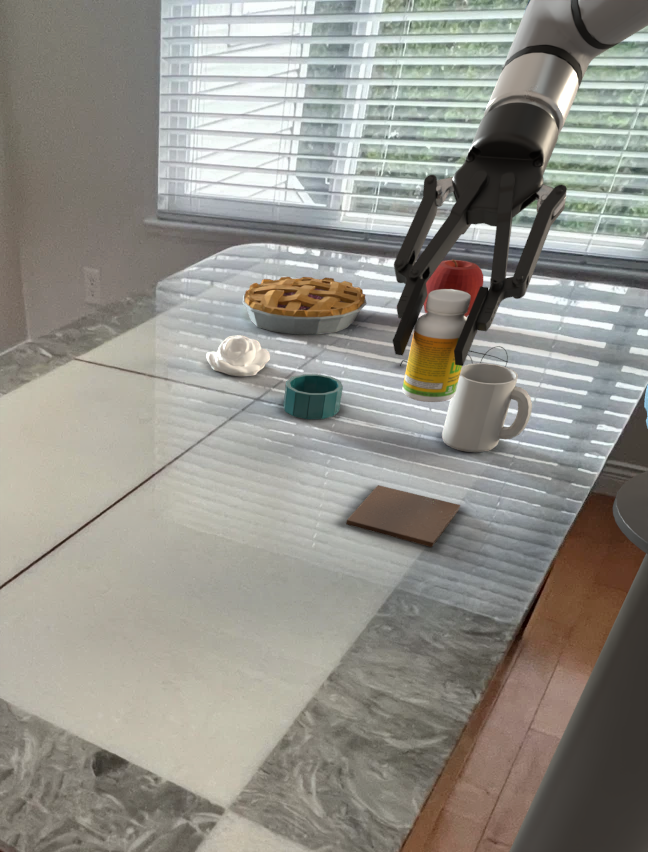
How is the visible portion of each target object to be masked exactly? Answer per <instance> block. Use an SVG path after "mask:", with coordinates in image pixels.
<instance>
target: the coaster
mask: <svg viewBox="0 0 648 852" xmlns="http://www.w3.org/2000/svg"><path fill="white" fill-rule="evenodd" d="M460 508H461V504H459V503H454V502H449V501H445V500H441V499H437V498H433V497H428V496H425V495H421V494H417V493H412V492H408V491H404V490H400V489H396V488H392V487H387V486H384V485H379V484H378V485H376V487H375V488H374V489H373V490H372V491H371V492H370V494H369V495H367V497H366V498H365V499H364V500H363V501H362V502H361V503H360V505H359V506H358V507H356V509H355V510H354V511H353V512H352V514H351V515H350V516H349V517H348V518H347V519H346V521H345V524H346V525H347V526H351V527H354V528H358V529H362V530H366V531H369V532H373V533H376V534H381V535H384V536H388V537H392V538H396V539H400V540H403V541H406V542H410V543H415V544H419V545H422V546H426V547H429V548H433V547H434V546H435V544H436V542H437V541H438V539H440V537H441V535H442V534H443V533H444V532H445V530H446V529H447V527H448V526H449V524H450V523H451V521H452V520H453V519H454V518H455V516H456V515H457V513H458V512H459V511H460Z"/></svg>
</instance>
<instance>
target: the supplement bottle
mask: <svg viewBox="0 0 648 852" xmlns="http://www.w3.org/2000/svg"><path fill="white" fill-rule="evenodd" d="M470 299H471V295H470V294H468V293H466V292H464V291H460V290H453V289H440V290H434V291H431V292H430V293H429V295H428V299H427V303H426V310H427V311H428V312H427V313H424V314H422V315H421V316H419V317H418V319H417V321H416V324H415V327H414V329H413V332H412V339H411V343H410V348H409V352H408V357H407V363H406V368H405V373H404V378H403V383H402V393H403V394H404V395H405V396H406V397H408V398H409V399H411V400H414V401H419V402H423V403H441V402H446V401H450V399H451V398H452V397H453V396H454V395H455V392H456V388H457V385H458V380H459V376H460V372H461V368H462V366H460V365H455V357H454V349H455V347H456V345H457V342H458V340H459V337H460V335H461V332H462V330H463V328H464V325H465V323H466V320H467V318H468V316H467V317H465V316H464V315H465V313H467V312H468V308H469V304H470Z"/></svg>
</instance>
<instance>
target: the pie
mask: <svg viewBox="0 0 648 852" xmlns="http://www.w3.org/2000/svg"><path fill="white" fill-rule="evenodd" d="M366 300H367V299H366V294H365V293H364V292H363V288H361V287H359V286H353V283H352V282H351V281H347V280H344V281H341V282H340V281H335V279H334V278H333V277H323V278H322V279H321V278H320V279H319V278H314V277H311V276H302V277H300V278H297V277H296V278H292V277H291V276H280V278H279V279H275V280H274V279H271V278H264V279H262V280H261V282H260V284H259V283H258V282H253V283H251V284H250V285H249V288H248V289H247V290H245V292H244V294H243V295H242V305H243V306H244V307H245V309H246V311H247V314H248V317H249V320H250V321H251V322H252V324H254V325H255V326H256V328H260V329H263V330H267V331H270V332H275V333H282V334H290V335H324V334H334V333H338V332H341V331H343V330H345V329H347V328H349V326H350V325H351V324H352V323H354V321H355V320H356V318H357V317H358V315H359V313H360V312H361V310H363V308H364V307H365V306H366V305H367V301H366Z"/></svg>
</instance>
